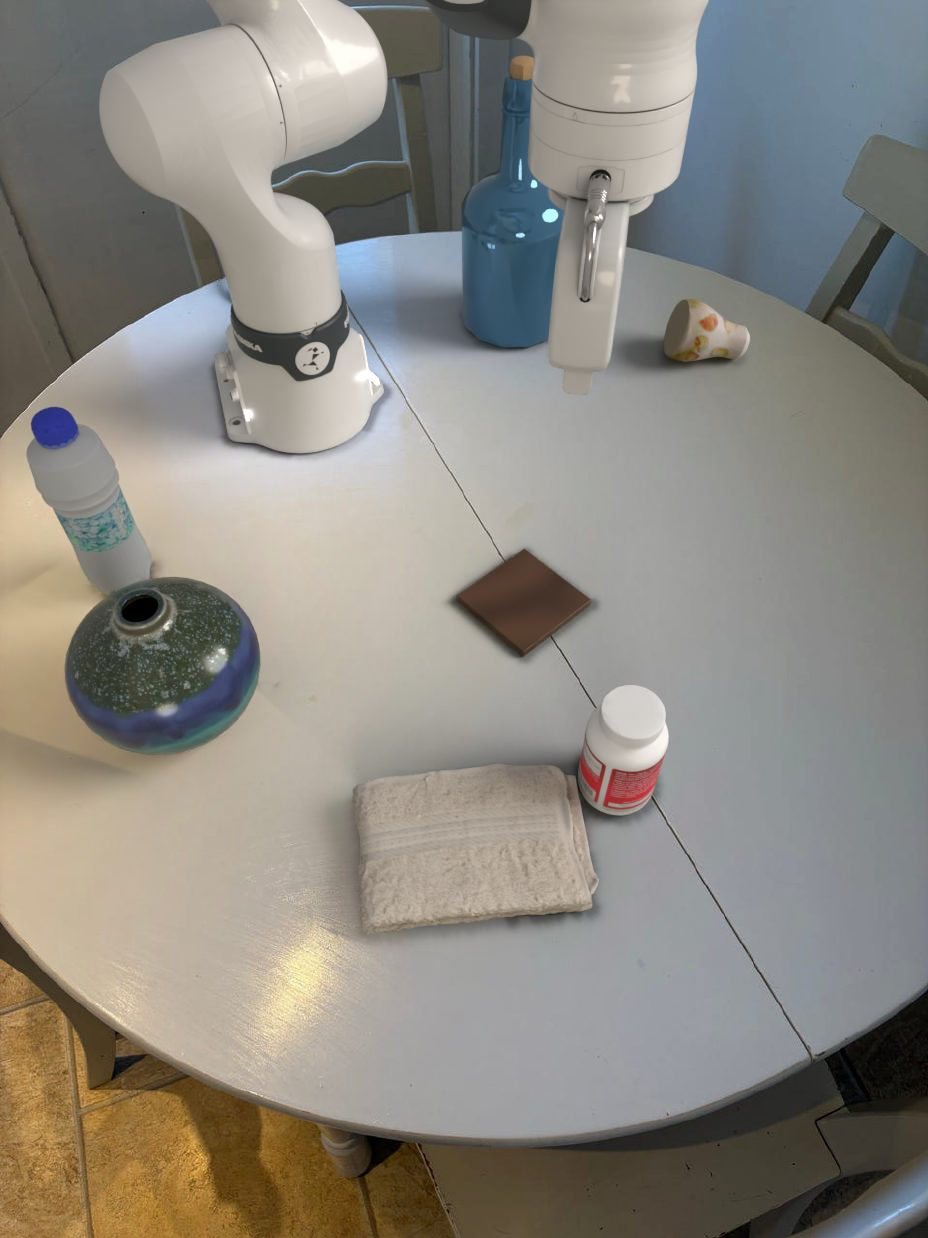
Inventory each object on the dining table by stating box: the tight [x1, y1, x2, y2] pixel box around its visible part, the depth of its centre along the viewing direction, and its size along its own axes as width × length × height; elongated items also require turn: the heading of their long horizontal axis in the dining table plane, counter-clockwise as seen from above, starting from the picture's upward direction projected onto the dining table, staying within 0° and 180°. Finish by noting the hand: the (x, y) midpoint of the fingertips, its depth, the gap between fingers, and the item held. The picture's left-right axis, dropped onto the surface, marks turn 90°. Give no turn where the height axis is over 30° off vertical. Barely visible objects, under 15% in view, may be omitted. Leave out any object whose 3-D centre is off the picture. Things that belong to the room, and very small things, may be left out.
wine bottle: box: [460, 55, 565, 348], centre depth 102 cm, size 14×13×30 cm
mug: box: [663, 298, 751, 363], centre depth 106 cm, size 8×10×10 cm
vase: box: [63, 576, 262, 756], centre depth 73 cm, size 15×15×13 cm
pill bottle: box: [577, 684, 670, 816], centre depth 68 cm, size 6×6×11 cm
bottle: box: [25, 406, 153, 596], centre depth 79 cm, size 7×7×20 cm
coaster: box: [456, 548, 592, 657], centre depth 84 cm, size 9×9×1 cm
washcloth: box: [351, 762, 600, 935], centre depth 68 cm, size 12×18×3 cm, turn 97°
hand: (582, 345), depth 61 cm, fingers open, 8 cm apart
